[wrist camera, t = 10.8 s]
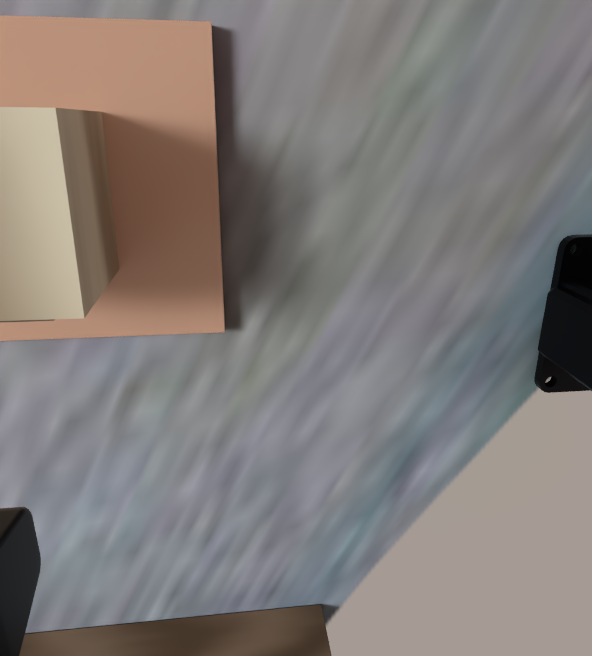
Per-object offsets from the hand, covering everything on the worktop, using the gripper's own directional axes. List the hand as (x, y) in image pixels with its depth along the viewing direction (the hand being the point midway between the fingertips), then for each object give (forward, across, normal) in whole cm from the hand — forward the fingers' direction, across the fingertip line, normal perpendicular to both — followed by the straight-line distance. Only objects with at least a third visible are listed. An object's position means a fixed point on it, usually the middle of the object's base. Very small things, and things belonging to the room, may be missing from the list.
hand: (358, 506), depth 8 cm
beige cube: (+12, +8, -3) cm, 15 cm away
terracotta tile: (+13, +8, -3) cm, 16 cm away
